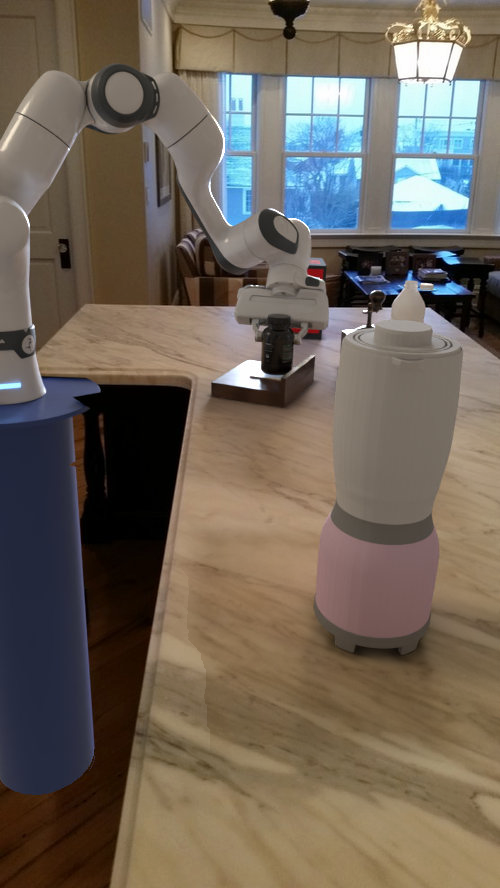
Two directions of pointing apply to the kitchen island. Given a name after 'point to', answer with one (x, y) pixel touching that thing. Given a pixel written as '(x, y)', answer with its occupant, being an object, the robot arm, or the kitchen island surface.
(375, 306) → the coffee grinder
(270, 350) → the supplement bottle
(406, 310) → the water bottle
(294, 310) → the robot arm
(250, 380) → the shelf
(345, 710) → the kitchen island surface
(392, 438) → the blender
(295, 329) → the cleaning product box
